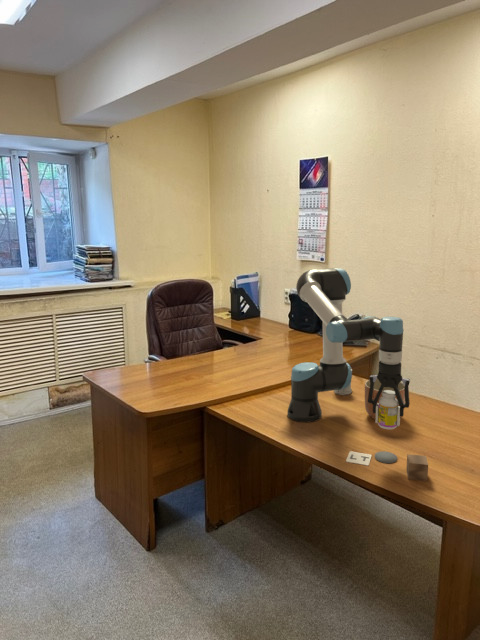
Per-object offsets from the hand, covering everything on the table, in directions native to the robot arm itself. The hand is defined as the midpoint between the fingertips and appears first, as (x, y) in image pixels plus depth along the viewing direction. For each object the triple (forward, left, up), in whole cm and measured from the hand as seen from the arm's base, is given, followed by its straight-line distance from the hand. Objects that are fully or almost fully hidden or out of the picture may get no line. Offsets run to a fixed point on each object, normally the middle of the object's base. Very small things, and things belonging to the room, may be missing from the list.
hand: (387, 422), depth 167 cm
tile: (-9, -4, -14) cm, 17 cm away
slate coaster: (0, 0, -14) cm, 14 cm away
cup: (-28, +61, -14) cm, 69 cm away
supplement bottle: (0, 0, -1) cm, 1 cm away
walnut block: (+11, -8, -14) cm, 20 cm away
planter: (-5, +36, -14) cm, 39 cm away
